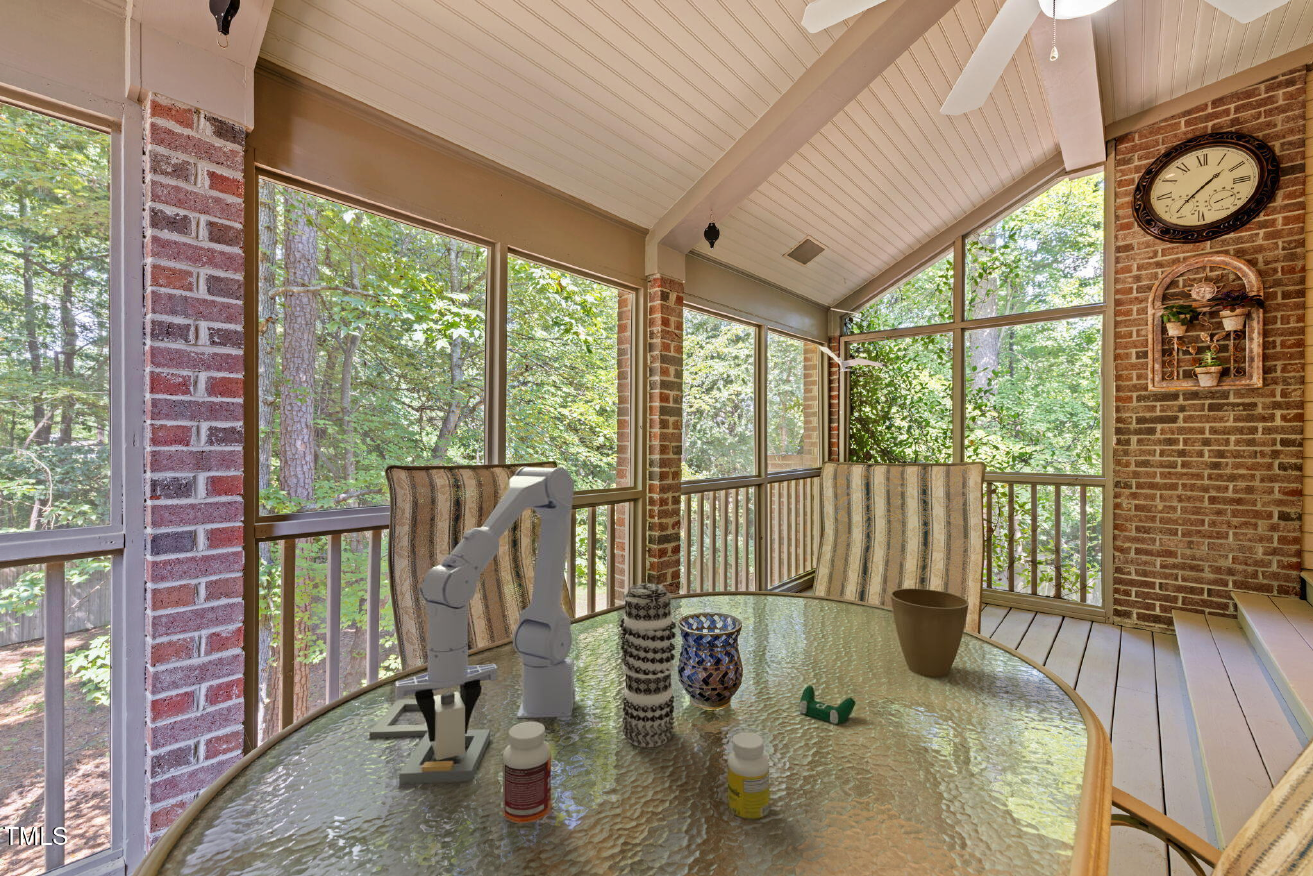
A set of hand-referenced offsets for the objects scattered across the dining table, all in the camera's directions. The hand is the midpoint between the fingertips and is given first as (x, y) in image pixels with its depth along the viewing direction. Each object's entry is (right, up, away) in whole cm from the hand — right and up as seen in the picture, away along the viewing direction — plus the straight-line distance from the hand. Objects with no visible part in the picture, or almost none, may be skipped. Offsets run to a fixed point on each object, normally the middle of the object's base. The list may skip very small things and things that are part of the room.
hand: (447, 735), depth 88 cm
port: (0, -4, 0) cm, 4 cm away
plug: (0, -2, 0) cm, 2 cm away
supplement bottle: (+44, -4, -12) cm, 46 cm away
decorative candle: (+30, -4, +7) cm, 32 cm away
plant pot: (+89, -4, +34) cm, 95 cm away
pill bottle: (+15, -4, -12) cm, 20 cm away
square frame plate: (-11, -4, +13) cm, 18 cm away
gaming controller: (+64, -2, +17) cm, 66 cm away
